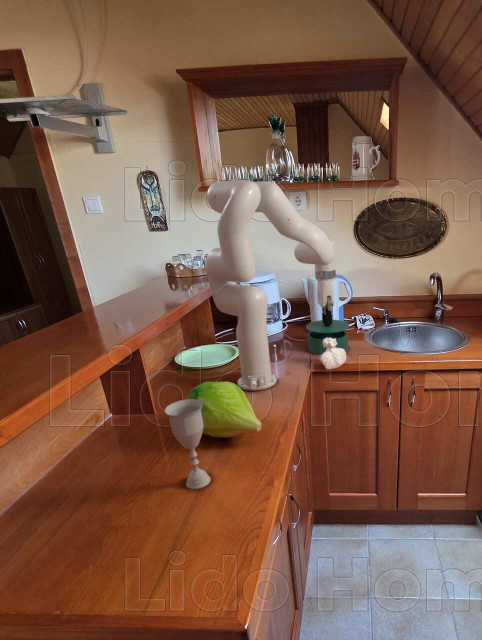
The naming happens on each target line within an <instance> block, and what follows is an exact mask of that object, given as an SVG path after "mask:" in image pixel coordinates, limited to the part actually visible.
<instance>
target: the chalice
mask: <svg viewBox="0 0 482 640" xmlns="http://www.w3.org/2000/svg"><path fill="white" fill-rule="evenodd" d="M202 405H203V404H202V402H201V401H200V400H197V399H186V398H185V399H182V400H178V401H175V402H173V403H170V404H169V405H167V406H166V407H165V409H164V413H165V414H166V415H167V416H168V419H169V424H170V428H171V433H172V435H173V436H174V438H175V439H176V440H177V442H179V444H180V445H181V446H182V447H183V448H184V449H186V450H189V455H188V457H189V458H190V459H191V461H190V465H191V466H192V470H191V471H190V472H189V473H188V475H187V479H186V482H185V485H186V487H187V488H188V489H189V490H190V489H192V490H197V489H202V488H204V487H206V486H207V485H209V484H210V482H211V477H210V476H209V474H208V473H207V472H206V470H205V469H202V468H199V463H200V460H198V458H197V456H198V453H197V452H196V449H195V448H197V447H198V446H199V443H200V441H201V438H202V436H203V433H202V432H203V427H204V425H203V419H202V414H201V408H202Z"/></svg>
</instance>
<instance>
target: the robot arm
mask: <svg viewBox="0 0 482 640" xmlns="http://www.w3.org/2000/svg"><path fill="white" fill-rule="evenodd" d="M206 199H207V203H208V205H209V206H210V208H211V209H212V210H213V211H214V212H216V213H218V214H220V216H219V220H218V222H217V237H218V244H219V247H215V248H213V249H211V250H210V251H209V252H208V253H207V256H206V258H205V264H204V265H205V266H204V267H205V273H206V277H207V280H208V284H209V285H208V286H209V288H210V293H211V295H212V299H213V302H214V305H215V306H216V308H217V309H218V310H219V311H220V312H221V313H224V314H227V315H231V316H236V317H238V322H237V325H236V329H235V335H236V342H237V343H236V345H237V351H238V358H239V367H240V375H241V377H239V378H238V380H237V386H238V387H240V389H241V390H243V391H244V390H245V391H262V390H266V389H269V388H272V387H273V386H274V385H276V384H277V376H276V375H275V374H273V373H272V369H271V357H270V348H269V347H270V346H269V337H268V325H267V324H268V323H267V322H268V321H267V319H268V306H269V302H268V301H269V300H268V297H267V294H266V293H265V292H264V290H262V289H261V288H260V287H257V286H253V285H247V284H242V283H249V282H251V281H252V280H254V278H255V277H256V274H257V273H256V272H257V271H256V263H255V258H254V252H253V248H252V247H253V246H252V244H251V238H250V230H249V229H250V223H251V220H252V218H253V216H254V214H255V213H262V214H263V215H264V216H265V217H266V218H267V220H268V221H269V222H270V223H271V225H272V226H273V227H274V228H275V229H276V231H277V232H278V233H279V234H280V235H281V236H284V237H285V238H288V239H290V240H292V241H297V242H299V243H297V244H296V245H295V247H294V250H293V254H294V257H295V259H296V261H297V262H299V263H301V264H305V265H314V276H315V281H316V283H317V284H316V292H317V293H316V295H317V296H316V297H317V304H318V305H319V306H320V308H321V320H322V322H323V323H324V325H332V320H333V307H335V287H334V286H335V284H334V280H336V278H337V277H336V276H337V275H336V273H337V272H336V245H335V244H336V243H335V241H334V240H332V239H329V238H328V236H327V234H326V233H325V232H324V231H323V230H322V229H321V228H319V227H318V226H317V225H315V224H314V223H312V222H311V221H310V220H308V219H306V218H305V217H303V216H301V215H300V213H299V211H297V209H296V208H295V207H294V205H293V204H292V202H291V201H290V199H289V198H288V197H287V195H286V194H285V192H284V191H283V190H282V189H281V187H280V186H279V185H278V184H277V183H276V182H274V181H270V180H265V181H264V180H262V181H252V180H249V179H234V180H232V179H231V180H221V181H219V180H218V181H215V182H213V183H212V184H211V185H210V186H209V187H208V189H207V193H206ZM240 283H241V284H240Z"/></svg>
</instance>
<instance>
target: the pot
mask: <svg viewBox="0 0 482 640" xmlns="http://www.w3.org/2000/svg"><path fill="white" fill-rule="evenodd" d="M325 338H332V339H335V338H336V342H337V345H336V346H335V348H342V349H344V350H345V352H346V353H347V352H348V349H349V333H348V331H346V330H344V331H340V332H335V333H315V332H311V331H309V332H308V333H307V334H306V339H307V350H308V351H309V352H310V353H312V354H315V355H320V356H321V355H322V354H323V353H324V352H326V347H325V348H324V346H323V340H324V339H325Z"/></svg>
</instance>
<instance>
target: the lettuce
mask: <svg viewBox="0 0 482 640" xmlns="http://www.w3.org/2000/svg"><path fill="white" fill-rule="evenodd" d="M186 399H197V400H200V401H201V402H202V404H203V405H202V408H201V414H202V419H203V425H204V427H203V432H202V435H203V434H204V435H205V436H209V437H213V438H222V439H223V438H225V439H229V438H233V437H238V436H240V435H243V434H245V433H257V432H260V431H261V429H262V426H263V425H262V422H261V421H260V420H259V419H258V418H257V416H256V414H255V412H254V410H253V407H252V404H251V403H250V401H249V399H248V397H247V395H246V394H245V392H244V390H243V389H242V388H240V387H239V386H238V384H236V383H234V382H230V381H204V382H202V383H200V384H197V385H196V386H194V387H193V388H191V389H190V391H189V392H188V394H187V396H186V398H185V400H186Z"/></svg>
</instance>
